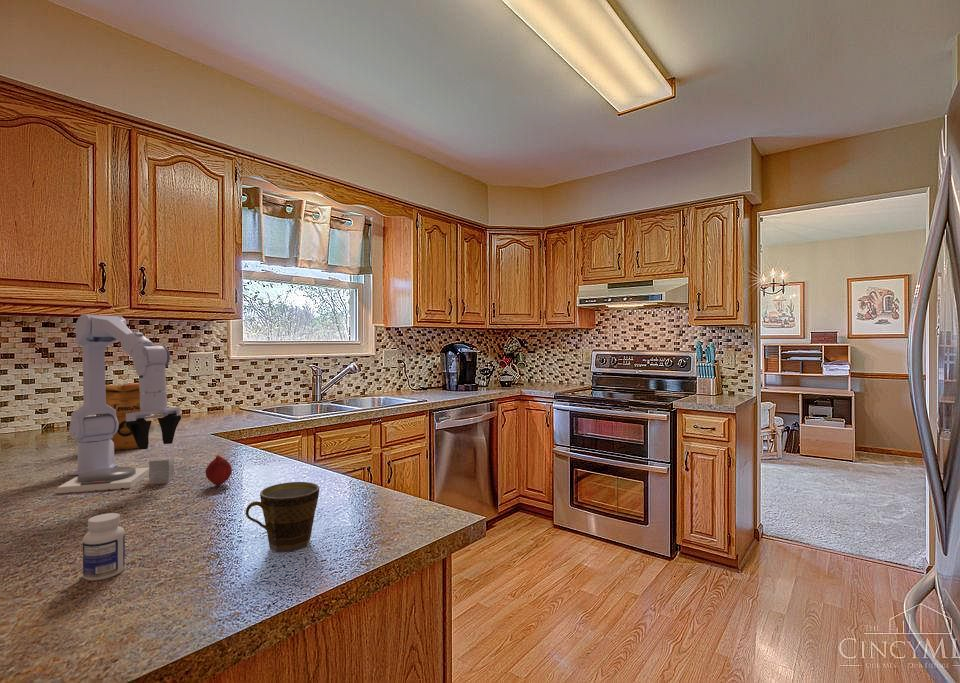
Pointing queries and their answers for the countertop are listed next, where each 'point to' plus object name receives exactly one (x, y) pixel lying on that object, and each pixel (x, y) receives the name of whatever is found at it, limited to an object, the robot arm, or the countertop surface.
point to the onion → (218, 470)
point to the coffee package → (123, 412)
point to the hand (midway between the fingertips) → (155, 446)
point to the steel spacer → (161, 470)
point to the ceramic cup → (288, 514)
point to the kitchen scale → (104, 479)
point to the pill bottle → (103, 547)
